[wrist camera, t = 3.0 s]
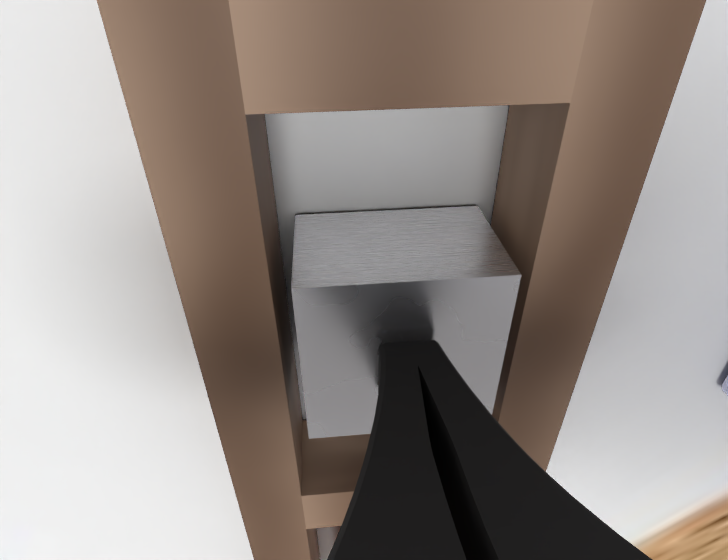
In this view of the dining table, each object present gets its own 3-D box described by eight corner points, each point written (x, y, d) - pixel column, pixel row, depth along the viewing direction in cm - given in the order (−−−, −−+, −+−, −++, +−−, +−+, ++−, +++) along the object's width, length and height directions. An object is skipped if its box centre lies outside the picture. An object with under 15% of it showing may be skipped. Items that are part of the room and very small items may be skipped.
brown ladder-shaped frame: (620, -33, 11) (714, -26, 8) (467, 594, 28) (482, 657, 25) (146, -25, 10) (92, -15, 7) (290, 612, 27) (288, 679, 25)
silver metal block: (477, 205, 13) (521, 274, 11) (459, 341, 16) (489, 424, 13) (295, 215, 13) (291, 288, 10) (309, 352, 16) (308, 438, 13)
